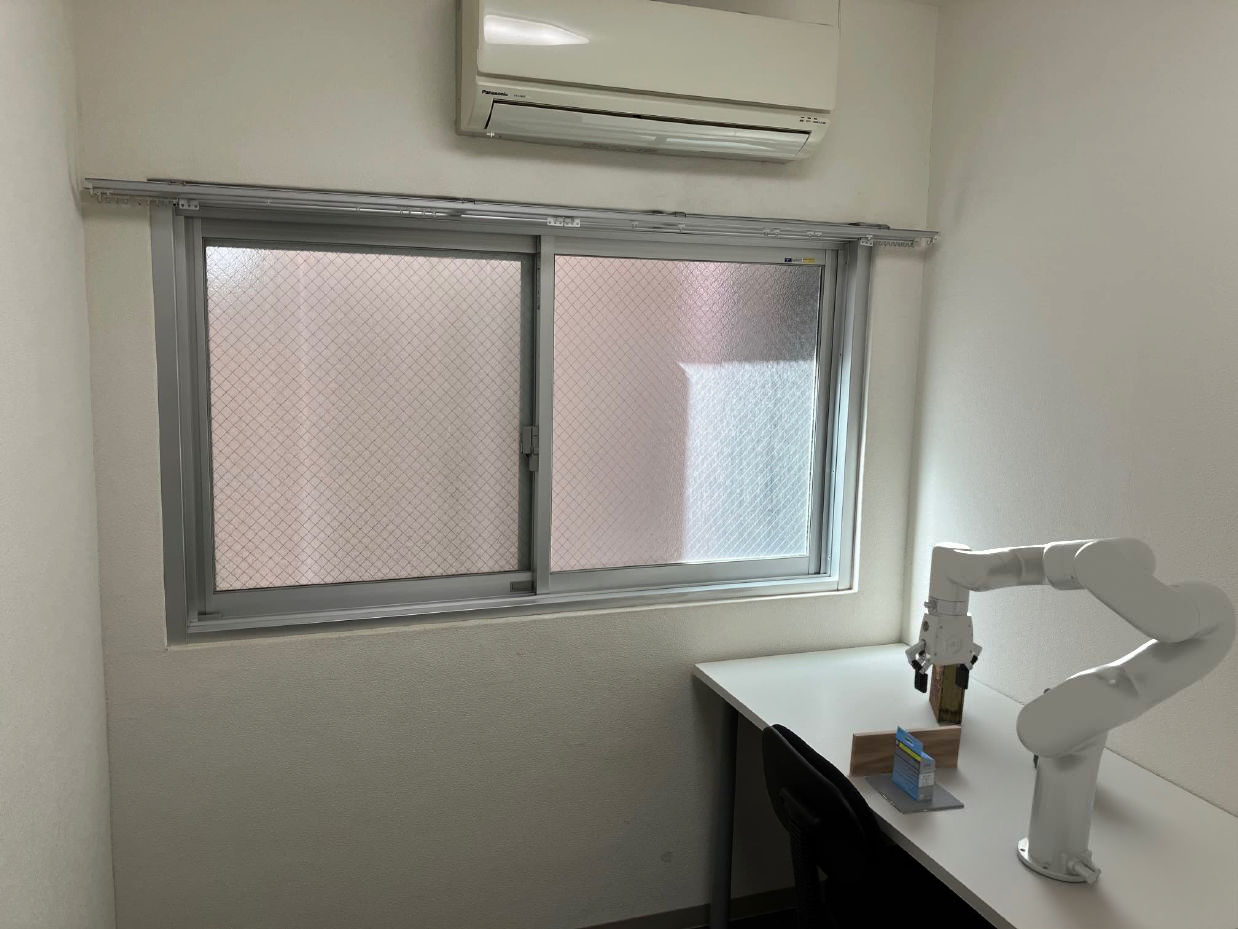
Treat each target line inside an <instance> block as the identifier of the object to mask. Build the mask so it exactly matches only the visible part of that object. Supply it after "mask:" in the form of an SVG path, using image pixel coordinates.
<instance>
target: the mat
mask: <svg viewBox="0 0 1238 929" xmlns="http://www.w3.org/2000/svg"><path fill="white" fill-rule="evenodd" d="M863 778H864V780H865V781H866V782H867V783H868V784H869V785H870V786H872V787H873V788H874V789H875V790H876V791H877V790H878V791H879V792H880V793H881V794H880V793H879V792H878V791H877V792H878V793H879V794H880V795H882V796H883V795H884V796H885V797H886V798H887V799H888V800H889V801H890V802H892V803H891V805H893V804H894V805H895V806H896V807H897V808H898V809H899V810H900V811H899V810H898V809H897V808H896V807H895V806H894V805H893V806H894V807H895V808H896V809H897V810H898V811H899V812H900V813H902V812H903V813H902V814H908V813H907V812H912V813H918V812H919V811H921V812H925V811H924V810H930V811H938V809H939V810H947V809H955V808H956V807H957V808H964V807H965V804H964V803H963V802H961V801H960V800H959V799H958V798H957V797H956V796H954V795H953V794H951V793H950V792H949V791H948V790H947V789H945V788H944V787H942V785H940V784H939V783H938V782H936V781H935V780H934V787H933V799H931V800H926V801H917V800H916V799H914V798H913V797H912V796H911V795H910V794H908V793H907V792H906V791H905V790H903V789H902V788H901V787H899V786H898V785H897V784H896V783H894V782H893V781H892V779H893V773H886V774H875V775H865V776H864V777H863ZM884 796H883V797H884ZM885 797H884V798H885ZM886 798H885V799H886ZM887 799H886V800H887ZM888 800H887V801H888ZM889 801H888V802H889ZM890 802H889V803H890ZM905 812H906V813H905ZM919 813H920V812H919Z"/></svg>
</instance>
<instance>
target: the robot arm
mask: <svg viewBox="0 0 1238 929" xmlns="http://www.w3.org/2000/svg"><path fill="white" fill-rule="evenodd" d="M931 551H932V552H931V562H930V572H929V573H930V576H929V584H928V585H929V588H928V598H927V599H928V600H925V601H924V603H923V606H924V608H925V609H927V610H924V614H923V616H922V617H923V618H922V621H921V625H920V629H919V634H918V635H919V636H918V642H917V643H915V644H914V645H912V646H909V648H907V649H905V656H906V658H907V662H908V664H909V665H910V666H911V667H912V669H913V670H914V681H913V682H914V683H913V685H914V687H913V688H914V689H915V690H917V691H919V692H921V693H922V694H926V693H927V692H928V684H929V683H928V681H929V680H928V679H929V674H928V673H927V671H928V670H929V668H930V667H931V666H932V665H936V666H939V665H954V664H959V665H960V666H957V667H956V677H955V685H957V686H959V687H961V688H962V689H964V690H965V691H966V690H968V689H969V683H970V682H969V681H970V672H971V671H972V670H973V668H974V665H975V664H976V662H978V660H979V657H980V655H981V652H982V650H983V647H982V646H981V645H979V644H977V643H975V642H974V626H973V625H974V624H973V618H972V614H971V613H970V612H969V601H970V592H975V593H983V592H990V591H994V590H998V589H999V590H1000V589H1005V588H1006V589H1007V588H1011V587H1012V588H1013V587H1022V586H1025V587H1026V586H1027V587H1028V586H1050V587H1052V588H1053V589H1054V590H1056V591H1062V592H1063V591H1081V590H1082V591H1083V590H1084V591H1085V590H1086V591H1088V593H1090V594H1091V595H1093V596H1094V597H1095V598H1096V599H1097V600H1098V601H1099V602H1100V603H1102V604H1103V605H1104V606H1106V607H1107V608H1109V609H1110V610H1111V611H1112V612H1113V613H1115V615H1118V616H1119V617H1120V618H1122V619H1123V621H1125V622H1127V623H1128V624H1129V625H1131V627H1133V628H1134V629H1135V630H1137V631H1138V632H1140V633H1141V634H1143V635H1144V636H1146V637H1147V638H1150V639H1151V640H1148V641H1147V642H1145V643H1144V644H1143V645H1141V646H1139V647H1138V648H1137V649H1135V650H1133V651H1132V652H1130V653H1128V654H1126V655H1125V656H1123V657H1122V658H1119V659H1117V660H1115V661H1112V662H1109V663H1105V664H1102V665H1099V666H1097V667H1096V666H1095V667H1092V668H1089V669H1086V670H1083V671H1080V672H1077V673H1076V674H1074V675H1072V676H1070V677H1068V678H1066V679H1064V680H1063V681H1062V682H1059V683H1058V684H1057V685H1055V686H1053V687H1052V688H1051V689H1050V690H1049V691H1047V692H1045V693H1044V692H1043V693H1044V694H1043V693H1042V694H1040V695H1039V696H1038V697H1036V698H1034V699H1032V700H1031V701H1029V702H1028V703H1026V704H1025V705H1024V706H1023V707H1022V708H1021V709H1020V711H1019V713H1018V715H1017V719H1016V724H1015V728H1016V729H1015V730H1016V734H1017V737H1018V740H1019V741H1020V743H1021V745H1022V746H1023V747H1024V748H1025V749H1026V750H1027V751H1029V752H1030V753H1032V754H1033V755H1034V754H1035V755H1037V756H1039V757H1038V762H1037V767H1036V770H1035V779H1034V787H1033V794H1032V803H1031V810H1030V811H1031V812H1030V818H1029V827H1028V835H1027V837H1025V838H1022V839H1021V840H1019V841H1018V843H1017V844H1016V845H1017V846H1016V854H1017V856H1018V858H1019V859H1020V860H1021V861H1022V862H1023V863H1024V864H1025V865H1026V866H1027V867H1028V868H1030V869H1031V870H1033V871H1035V872H1037V873H1039V874H1040V875H1041V874H1042V875H1043V876H1046V877H1048V878H1051V879H1055V880H1058V881H1062V882H1063V881H1064V882H1071V883H1080V882H1082V883H1083V882H1087V884H1093V883H1095V882H1096V880H1097V877H1099V876H1101V874H1102V869H1101V868H1099V867H1098V866H1097V865H1096V864H1095V862H1094V859H1092V857H1093V851H1092V850H1090V849H1089V842H1090V841H1089V840H1090V835H1091V834H1090V832H1091V825H1092V818H1093V812H1094V804H1095V796H1096V789H1097V783H1098V782H1097V781H1098V778H1099V777H1098V775H1099V770H1100V765H1101V764H1100V763H1101V759H1102V756H1103V752H1104V749H1105V748H1106V743H1107V739H1108V736H1109V732H1110V731H1112V730H1113V729H1115V728H1118V727H1120V726H1122V725H1125V724H1128V723H1130V722H1133V721H1134V720H1136V719H1139V718H1140V717H1142V716H1143V715H1144V714H1145V713H1147V712H1149V711H1150V710H1152V709H1153V708H1155V707H1156V706H1158V705H1160V704H1161V703H1164V702H1165V701H1167V700H1168V699H1170V698H1172V697H1174V696H1176V695H1177V694H1179V693H1180V692H1182V691H1183V690H1185V689H1187V688H1189V687H1191V686H1192V685H1194V684H1195V683H1197V682H1199V681H1200V680H1202V679H1204V678H1205V677H1206V676H1208V675H1209V674H1210V673H1211V672H1213V671H1214V670H1215V669H1216V668H1217V667H1218V666H1219V665H1221V663H1222V662H1223V661H1225V659H1226V657H1227V656H1228V655H1229V653H1230V651H1231V650H1232V648H1233V645H1234V642H1235V640H1236V636H1237V629H1238V621H1237V620H1238V619H1237V614H1236V609H1235V606H1234V603H1233V602H1232V600H1231V598H1230V597H1229V595H1228V594H1227V593H1226V592H1225V591H1224V590H1223V589H1222V588H1220V587H1219V586H1217V585H1214V584H1213V583H1209V582H1205V581H1202V580H1201V581H1200V580H1186V581H1180V582H1175V583H1170V584H1165V583H1163V582H1162V581H1160V580H1159V579H1158V578H1156V577H1155V576H1154V574H1155V571H1156V568H1157V558H1156V555H1155V553H1154V551H1153V549H1152V548H1151V547H1150V546H1149V545H1148V544H1147V543H1146V542H1144V541H1142V540H1141V539H1137V538H1133V537H1128V536H1118V537H1117V536H1116V537H1103V538H1093V539H1083V540H1082V539H1081V540H1068V541H1054V542H1049V543H1048V544H1043V545H1042V544H1039V545H1028V546H1017V547H1014V546H1013V547H1002V548H994V549H993V548H992V549H988V550H982V551H981V550H980V551H972V549H971V548H970V547H969V546H967V545H965V544H961V543H955V542H953V543H952V542H940V543H937V544H935V545H934V546H933V547H932V550H931ZM917 655H918V658H917Z"/></svg>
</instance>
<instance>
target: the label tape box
mask: <svg viewBox="0 0 1238 929" xmlns="http://www.w3.org/2000/svg"><path fill="white" fill-rule="evenodd" d="M896 730H897V733H896V740H895V754H894V766H893V773H892V774H893V779H892V781H893V782H894V783H896V784H897V785H898V786H899V787H901V788H902V789H903V790H905V791H906V792H907V793H908V794H910V795H911V796H912V797H913V798H914V799H916V800H917V801H926V800H931V799H933V787H934V781H935V771H936V769H935V760H934V759H932V758H931V757H929V756H928V755H927V754H925V753H924V752H922V747H923V744H922V743H921V742H919V741H918V740H917V739H915V738H914V737H912V736H911V735H910V734H909V733H907V732H906V731H904V730H905V729H903V728H902V727H901V726H899V725H897V729H896ZM905 737H906V738H907V739H908V738H909V739H910V741H911V742H912V743H913V744H911V743H910V742H908V741H905V739H904V738H905Z"/></svg>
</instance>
